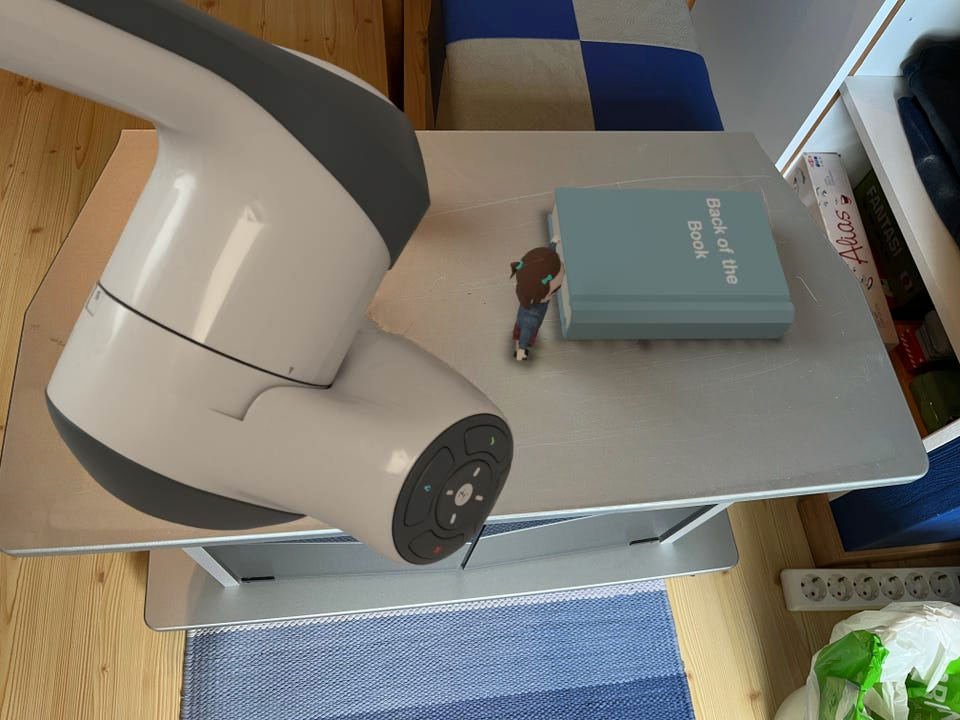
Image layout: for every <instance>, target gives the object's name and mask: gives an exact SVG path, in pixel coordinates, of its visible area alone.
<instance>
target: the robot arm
mask: <svg viewBox="0 0 960 720" xmlns="http://www.w3.org/2000/svg"><path fill="white" fill-rule="evenodd" d="M0 69H2V70H5V71H7V72H10V73H13V74H16V75H19V76H21V77H25V78H27V79H30V80H33V81H36V82H38V83H41V84H44V85H47V86H50V87H53V88H55V89H58V90H61V91H63V92H67V93H69V94H72V95H74V96H78V97H80V98H83V99H87V100H89V101H91V102H94V103H98V104H100V105H103V106H105V107H109V108H112V109H114V110H117V111H120V112H122V113H125V114H129V115H131V116H134V117H137V118H139V119H142V120H145V121H148V122H150V123H152V125H153V127H154V128H155V131H156V135H157V143H158V147H157V148H158V149H157V155H156V156H157V157H156V159H155V163H154V167H153V168H152V171H151V173H150V175H149V178H148V180H147V181H146V183H145V186H144V187H143V190H142V191H141V193H140V196H139V198H138V200H137V202H136V204H135V206H134V208H133V210H132V212H131V214H130V217H129V218H128V220H127V223H126V225H125V227H124V229H123V231H122V232H121V235H120V237H119V239H118V241H117V244H116V246H115V247H114V249H113V252H112V253H111V256H110V258H109V260H108V262H107V264H106V266H105V268H104V270H103V272H102V274H101V277H100V279H97V280H96V281H95V283H94V285H93V287H92V289H91V291H90V293H89V295H88V298H87V299H86V301H85V304H84V305H83V308H82V310H81V312H80V314H79V316H78V318H77V319H76V322H75V324H74V326H73V328H72V331H71V332H70V335H69V337H68V339H67V341H66V343H65V346H64V348H63V350H62V352H61V355H60V356H59V359H58V361H57V363H56V365H55V368H54V370H53V372H52V375H51V377H50V380H49V382H48V385H46V387H45V388H44V391H43V392H44V400H45V403H46V408H47V410H48V413H49V416H50V419H51V421H52V423H53V425H54V427H55V429H56V431H57V433H58V435H59V436H60V438H61V439H62V441H63V442H64V444H65V446H67V448H68V449H69V451H70V453H71V454H72V455H73V457H75V459H76V460H77V461H78V462H79V464H80V466H82V468H83V469H84V470H85V471H86V472H87V473H88V475H89V476H90V477H91V478H92V479H93V480H94V481H95V482H96V483H97V484H98V485H99V486H100V487H102V489H104V490H105V491H107V492H108V493H109V494H110V495H112V496H113V497H114V498H116V499H117V500H119V501H120V502H122V503H124V504H125V505H127V506H128V507H130V508H133V509H134V510H136V511H139V512H141V513H143V514H145V515H147V516H149V517H153V518H156V519H159V520H160V521H161V520H162V521H166V522H169V523H173V524H177V525H181V526H185V527H190V528H194V529H201V530H210V531H225V532H226V531H247V530H252V529H259V528H266V527H272V526H277V525H278V526H279V525H283V524H288V523H292V522H295V521H298V520H302V519H305V518H307V517H309V518H312V519H315V520H317V521H320V522H322V523H324V524H326V525H329V526H331V527H333V528H335V529H337V530H339V531H341V532H343V533H344V534H346V535H348V536H350V537H351V538H353V539H355V540H356V541H358V542H359V543H361V544H363V545H364V546H366V547H367V548H369V549H370V550H372V551H373V552H375V553H377V554H378V555H380V556H382V557H383V558H386V559H387V560H388V561H389V560H390V561H392V562H394V563H397V564H401V565H403V566H410V567H425V566H426V567H427V566H430V565H434V564H436V563H439V562H441V561H443V560H445V559H446V558H448V557H450V556H452V555H454V554H455V553H456V552H458V551H459V550H461V549H462V548H463V547H464V546H465V545H466V544H467V543H468V542H469V541H470V540H471V539H472V538H473V537H474V536H475V535H477V534H478V532H479V531H480V530H481V529H482V527H483V525H484V524H485V522H486V521H487V519H488V518H489V516H490V514H491V513H492V511H493V509H494V507H495V505H496V504H497V502H498V500H499V498H500V495H501V493H502V491H503V489H504V487H505V484H506V483H507V481H508V477H509V476H510V472H511V469H512V464H513V459H514V452H515V451H514V450H515V449H514V448H515V445H514V443H515V442H514V434H513V430H512V427H511V425H510V421H509V420H508V418H507V417H506V415H505V414H504V413H503V412H502V410H501V409H500V408H499V406H497V404H495V402H494V401H493V400H492V399H491V398H490V397H488V396H487V394H485V393H484V392H483V391H482V390H481V389H480V388H479V387H477V386H476V385H475V384H473V382H471V381H470V380H469V379H468V378H467V377H465V376H464V375H463V374H462V373H460V372H459V371H458V370H457V369H455V368H453V367H452V366H451V365H450V364H448V363H447V362H446V361H444V360H443V359H442V358H440V357H439V356H437V355H436V354H435V353H432V352H431V351H429V350H428V349H426V348H425V347H423V346H421V345H420V344H418V343H416V342H414V341H413V340H412V339H411V340H410V338H408V337H406V336H403V335H401V334H398V333H396V332H391V331H388V330H384V328H383V327H382V326H380V325H379V323H378V322H377V321H376V320H374V319H373V318H371V317H369V316H368V315H367V313H368V311H369V309H370V307H371V304H372V302H373V300H374V299H375V297H376V295H377V292H378V290H379V288H380V287H381V284H382V282H383V280H384V278H385V276H386V275H387V272H389V271H391V270H392V269H393V268H394V267H395V264H396V263H397V262H398V260H399V258H400V256H401V255H402V253H403V251H404V250H405V248H406V246H407V245H408V243H409V241H410V240H411V238H412V237H413V235H414V233H415V232H416V230H417V228H418V227H419V225H420V223H421V222H422V220H423V219H424V216H425V215H426V213H427V212H428V211H429V208H430V207H431V203H432V202H431V194H430V187H429V181H428V176H427V171H426V166H425V160H424V157H423V152H422V150H421V146H420V143H419V142H420V141H419V139H418V137H417V134H416V131H415V128H414V125H413V123H412V121H411V119H410V118H409V116H408V115H407V114H406V113H404V112H403V111H402V110H401V109H399V108H398V107H397V106H396V105H395V104H394V103H393V102H392V101H391V100H390V99H389V98H388V97H387V96H386V95H384V94H383V93H382V92H381V91H379V90H378V89H377V88H375V86H373V85H371V84H370V83H368V82H367V81H365V80H363V79H362V78H360V77H359V76H357V75H355V74H353V73H352V72H350V71H348V70H346V69H343V68H341V67H339V66H337V65H335V64H333V63H331V62H328V61H326V60H323V59H320V58H318V57H315V56H312V55H309V54H307V53H304V52H301V51H298V50H295V49H291V48H287V47H284V46H282V45H281V46H280V45H277V44H273V43H270V42H268V41H266V40H264V39H262V38H259V37H257V36H255V35H253V34H251V33H249V32H246V31H244V30H242V29H240V28H238V27H236V26H234V25H232V24H230V23H228V22H225V21H224V20H222V19H219V18H218V17H215V16H214V15H212V14H210V13H208V12H205V11H204V10H202V9H200V8H199V7H195V6H193V5H191V4H190V3H188V2H186V1H183V0H0Z"/></svg>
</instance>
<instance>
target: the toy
mask: <svg viewBox="0 0 960 720" xmlns="http://www.w3.org/2000/svg"><path fill="white" fill-rule="evenodd" d="M560 241H561V240H560V239H558V236H557V235H555V236H554V237H553V239H552V240H551V242H550V244H549V245H548V246H538V247H534V248H533V249H531V250H529V251H527V252H526V253H525V254H523V256H522V257H521V258H520V259H519V261H513V262H510V264H509V266H510V268H511V274H510V277H509V280H511V279H512V278H513V277H514V276H515V281H516V286H515V294H516V297H517V300H518V302H519V306H518V309H517V313H516V319H515V323H514V326H513V330H512V331H513V332H512V337H511V339H512V340H515V349H514V351H513V352H514V353H513V355H512V357H513V358H516V361H519V362H521V361H522V360H524V361H527V360H528V358H529V354H530V350H529V349H527V347H531V346H533V345H534V344H535V341H536V339H537V337H538V334H539V331H540V328H541V326H542V325H543V322H544V319H545V316H546V314H547V311H548V309H549V304H550V301H551V299H553V298H554V297H555V296H556V295H557V293H558V291H559V290H560V288H561V286H562V283H563V277H564V275H565V270H564V264H563V262H562V261H561V260H560V258H559V257H560V255H559V254H558V253H557V252H556V245H557V243H559V242H560Z"/></svg>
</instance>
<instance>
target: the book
mask: <svg viewBox="0 0 960 720" xmlns="http://www.w3.org/2000/svg"><path fill="white" fill-rule="evenodd" d="M554 197H555V203H554V206H553V210H552V213H551V212H550V213H549V212H548V214H547V217H546V219H547V225H548V234H549V242H550V243H551V240H552V239H553V237H554V236H555V235H557V236H558V239H560V240H561V241H560V242H559V243H557V245H556V252H557V253H558V254H559V255H560V257H559V258H560V260H561V261H562V262H563V264H564V270H565V275H564V277H563V283H562V286H561V288H560V290H559V291H558V293H557V294H556V295H557V296H556V298H557V303H558V311H559V319H560V322H561V334H562V335H561V336H562V338H564V340H718V339H719V340H740V339H741V340H742V339H743V340H744V339H745V340H748V339H749V340H751V339H752V340H759V339H762V340H763V339H764V340H765V339H767V340H768V339H769V340H771V339H773V340H775V339H779V338H781V337H782V335H783V334H784V333H785V332H786V331H787V330H788V329H789V328H790V327H791V325H792V324H793V323H794V319H795V318H794V317H795V306H794V303H793V302H792V301H790V300H791V293H790V290H789V286H788V283H787V279H786V276H785V274H784V273H785V272H784V270H783V266H782V263H781V260H780V256H779V254H778V249H777V246H776V243H775V239H774V237H773V233H772V229H771V226H770V223H769V219H768V216H767V213H766V210H765V207H764V203H763V199H762V196H761V193H760V191H755V190H754V191H750V190H749V191H747V190H703V189H702V190H696V189H647V188H645V189H643V188H604V187H603V188H600V187H598V188H597V187H595V188H594V187H555V188H554Z"/></svg>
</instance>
